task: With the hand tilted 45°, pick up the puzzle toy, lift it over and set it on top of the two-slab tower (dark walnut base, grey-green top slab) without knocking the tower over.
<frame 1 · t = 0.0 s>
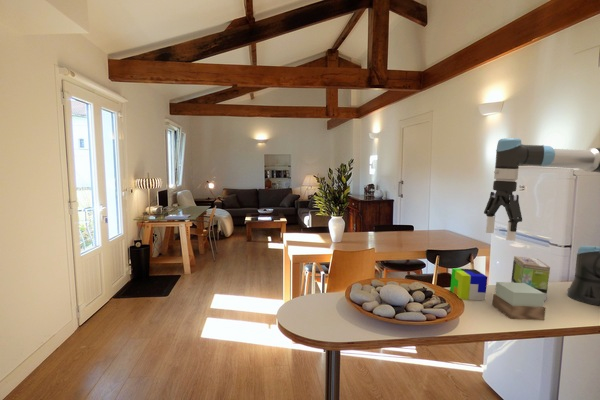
hand: (499, 236, 129), 28 cm above the breakfast bar, tool pointing down, fingers open, 13 cm apart
tea box: (527, 294, 149), on the breakfast bar
puzzle toy: (467, 295, 144), on the breakfast bar
walnut base slab: (516, 313, 128), on the breakfast bar, touching grey-green top slab
grey-green top slab: (518, 300, 128), point 5 cm above the breakfast bar, touching walnut base slab
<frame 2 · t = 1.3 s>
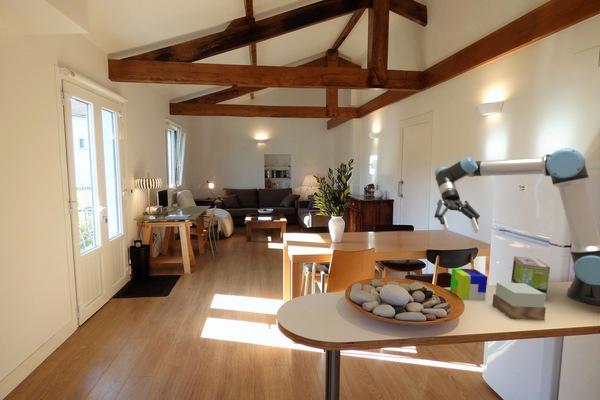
hand: (461, 230, 151), 26 cm above the breakfast bar, tool tilted 45°, fingers open, 13 cm apart
nothing on the breakfast bar moved.
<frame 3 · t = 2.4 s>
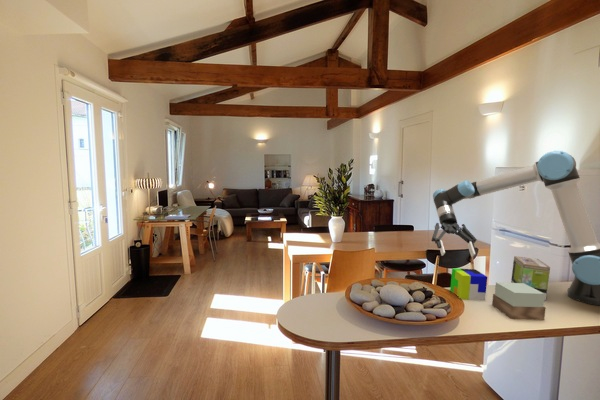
hand: (458, 254, 153), 15 cm above the breakfast bar, tool tilted 45°, fingers open, 13 cm apart
nothing on the breakfast bar moved.
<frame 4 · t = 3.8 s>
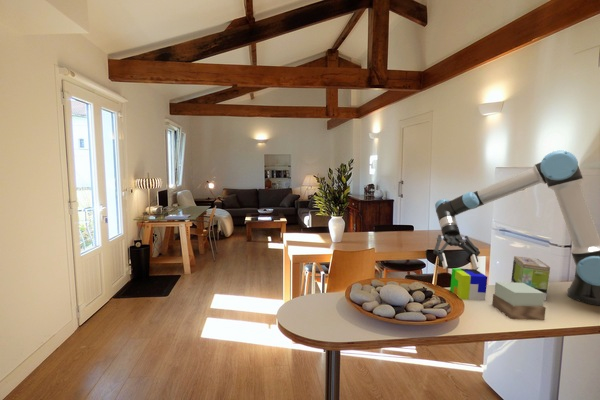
hand: (461, 268, 149), 10 cm above the breakfast bar, tool tilted 45°, fingers open, 13 cm apart
nothing on the breakfast bar moved.
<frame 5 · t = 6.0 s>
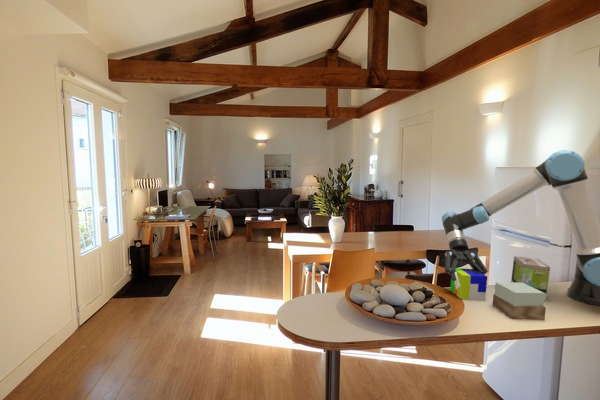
hand: (471, 288, 141), 4 cm above the breakfast bar, tool tilted 45°, fingers closed on puzzle toy, 10 cm apart
puzzle toy: (466, 295, 144), on the breakfast bar, touching gripper
walnut base slab: (517, 313, 128), on the breakfast bar
grey-green top slab: (517, 300, 128), point 5 cm above the breakfast bar
everything else where it was.
when the fingers open (15 cm above the breakfast bar, at t = 12.0 s): puzzle toy drops 2 cm, resting on grey-green top slab.
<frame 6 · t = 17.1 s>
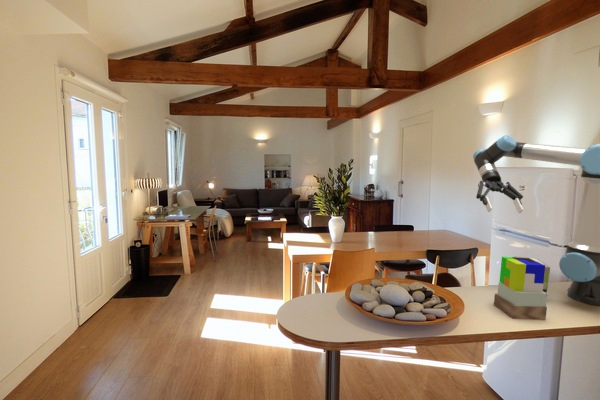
hand: (505, 210, 149), 36 cm above the breakfast bar, tool tilted 45°, fingers open, 13 cm apart
puzzle toy: (520, 287, 128), point 9 cm above the breakfast bar, touching grey-green top slab
walnut base slab: (518, 313, 129), on the breakfast bar, touching grey-green top slab
grey-green top slab: (520, 300, 128), point 5 cm above the breakfast bar, touching puzzle toy, walnut base slab
everything else where it was.
at the end: puzzle toy inside the target area on the grey-green top slab (0.8 cm from its centre), point 4.8 cm above the grey-green top slab's base; grey-green top slab 0.3 cm off-centre on the walnut base slab, point 5.0 cm above the walnut base slab's base; walnut base slab moved 0.8 cm from its start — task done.
